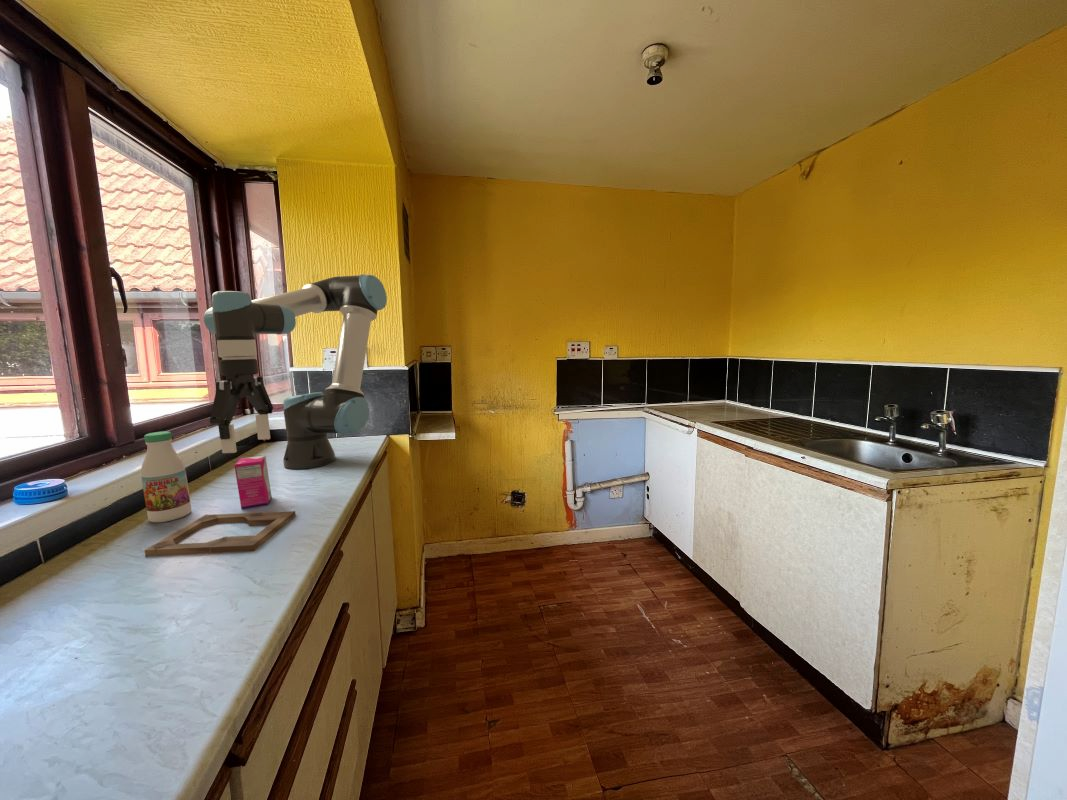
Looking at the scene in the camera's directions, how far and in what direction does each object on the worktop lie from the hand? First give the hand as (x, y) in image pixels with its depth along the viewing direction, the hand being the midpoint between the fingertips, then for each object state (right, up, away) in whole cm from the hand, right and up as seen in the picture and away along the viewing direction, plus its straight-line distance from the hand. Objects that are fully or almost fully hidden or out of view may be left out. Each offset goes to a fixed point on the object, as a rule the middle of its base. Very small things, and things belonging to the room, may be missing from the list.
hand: (248, 445), depth 102 cm
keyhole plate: (+5, -17, -14) cm, 23 cm away
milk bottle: (-15, -16, -4) cm, 23 cm away
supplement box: (0, -15, +3) cm, 15 cm away
